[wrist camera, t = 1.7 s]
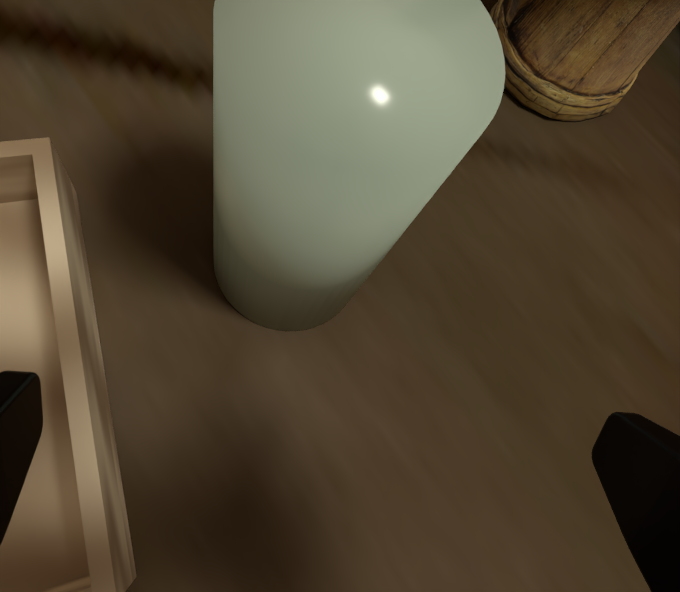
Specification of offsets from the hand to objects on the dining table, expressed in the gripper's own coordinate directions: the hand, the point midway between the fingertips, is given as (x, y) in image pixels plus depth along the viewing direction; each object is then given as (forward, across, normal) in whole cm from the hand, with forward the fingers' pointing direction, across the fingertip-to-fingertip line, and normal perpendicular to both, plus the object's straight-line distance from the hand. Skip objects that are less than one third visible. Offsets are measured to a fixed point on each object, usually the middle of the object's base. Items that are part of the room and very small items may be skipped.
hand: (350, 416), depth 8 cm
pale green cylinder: (+15, 0, +4) cm, 16 cm away
